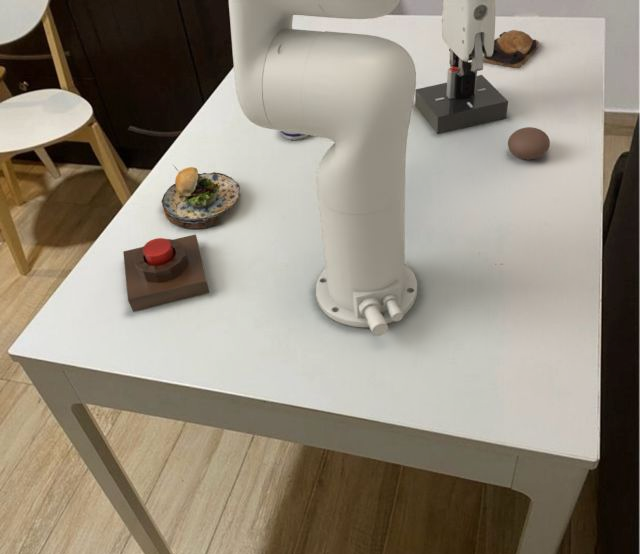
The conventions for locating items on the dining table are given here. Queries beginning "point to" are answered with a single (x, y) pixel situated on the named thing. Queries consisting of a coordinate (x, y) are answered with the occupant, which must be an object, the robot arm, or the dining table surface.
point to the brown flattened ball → (528, 143)
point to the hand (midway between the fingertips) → (461, 92)
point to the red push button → (158, 251)
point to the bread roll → (512, 49)
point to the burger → (199, 198)
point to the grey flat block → (453, 82)
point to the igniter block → (165, 275)
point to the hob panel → (460, 106)
